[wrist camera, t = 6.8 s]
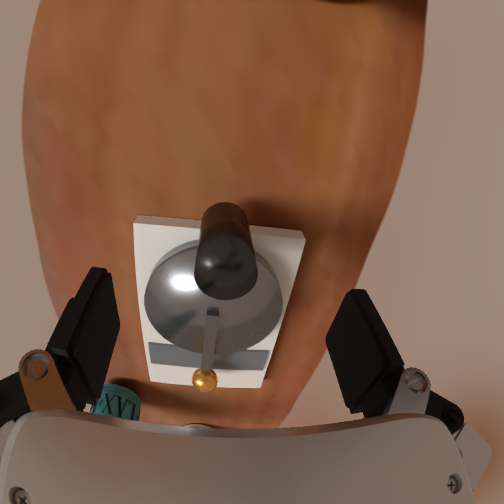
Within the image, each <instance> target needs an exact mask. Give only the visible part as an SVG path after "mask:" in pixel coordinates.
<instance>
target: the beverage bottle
mask: <svg viewBox="0 0 504 504" xmlns="http://www.w3.org/2000/svg"><path fill="white" fill-rule="evenodd" d="M140 408H141V406H140V398H139V397H138V395H137V394H136V393H134V392H133V391H131V390H130V389H128V388H125V387H123V386H120V385H116V384H104V386H103V390H102V394H101V397H100V399H97V398H96V402H95V405H92V407H91V409H92V410H90V412H91V413H94V414H99V415H104V416H109V417H115V418H121V419H127V420H133V421H139V419H140V418H139V415H140Z"/></svg>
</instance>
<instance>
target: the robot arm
mask: <svg viewBox="0 0 504 504" xmlns="http://www.w3.org/2000/svg"><path fill="white" fill-rule="evenodd" d="M119 329H120V320H119V315H118V310H117V305H116V299H115V294H114V288H113V282H112V276H111V273H108V272H107V270H106V269H105V268H98V267H92V268H91V269H90V271H89V272H88V274H87V276H86V278H85V279H84V281H83V283H82V285H81V287H80V289H79V290H78V292H77V294H76V296H75V298H71V299H70V300H69V302H68V304H67V306H66V308H65V309H64V311H63V313H62V315H61V317H60V319H59V321H58V323H57V325H56V328H55V330H54V332H53V334H52V336H51V338H50V340H49V342H48V345H47V347H46V349H45V351H44V350H41V349H36V350H31V351H29V352H27V353H26V354H25V355H24V356H23V357H22V358H21V360H20V363H19V367H18V368H19V371H18V372H16V373H15V374H12V375H10V376H8V377H6V378H4V379H2V380H0V504H475V500H474V496H473V493H472V492H473V491H474V489H475V487H476V485H477V484H478V482H479V480H480V478H481V476H482V475H483V473H484V471H485V469H486V467H487V465H488V463H489V461H490V458H491V455H492V451H491V447H490V445H489V444H488V443H487V441H486V440H485V439H484V438H483V437H482V436H481V435H480V434H479V433H478V432H477V431H476V430H475V429H474V428H473V427H472V426H471V425H470V424H469V423H468V422H466V423H465V424H464V416H463V413H462V411H461V409H460V408H459V407H458V406H457V405H455V404H454V403H452V402H450V401H448V400H447V399H445V398H443V397H441V396H440V395H438V394H436V393H434V392H433V391H431V390H430V387H431V384H430V380H429V378H428V377H427V375H426V374H425V373H424V372H423V371H421V370H420V369H417V368H412V367H410V368H407V369H404V367H403V366H404V362H403V360H402V358H401V356H400V354H399V352H398V350H397V348H396V346H395V344H394V342H393V340H392V338H391V336H390V334H389V332H388V330H387V328H386V326H385V325H384V323H383V321H382V319H381V317H380V315H379V313H378V312H377V310H376V308H375V306H374V304H373V302H372V301H371V299H370V297H369V295H368V293H367V292H366V290H364V289H351V290H350V292H347V293H346V295H345V297H344V299H343V301H342V303H341V306H340V308H339V310H338V312H337V314H336V316H335V318H334V321H333V323H332V325H331V327H330V329H329V331H328V333H327V335H326V345H327V348H328V351H329V354H330V357H331V360H332V363H333V367H334V370H335V373H336V376H337V379H338V383H339V385H340V389H341V392H342V396H343V399H344V402H345V405H346V407H348V408H349V409H350V412H351V414H354V413H360V412H363V415H364V417H363V419H359V420H353V421H346V422H339V423H332V424H324V425H314V426H304V427H291V428H274V429H212V428H194V427H181V426H171V425H162V424H154V423H147V422H140V421H133V420H127V419H121V418H115V417H109V416H104V415H99V414H94V413H88V412H84V411H83V409H84V408H85V406H86V403H87V404H91V405H95V402H96V398H97V399H100V397H101V394H102V390H103V386H104V382H105V378H106V374H107V371H108V367H109V363H110V360H111V356H112V353H113V349H114V346H115V343H116V339H117V336H118V333H119Z"/></svg>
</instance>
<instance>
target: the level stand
mask: <svg viewBox="0 0 504 504" xmlns="http://www.w3.org/2000/svg"><path fill="white" fill-rule="evenodd" d="M201 221H202V220H193V219H181V218H170V217H158V216H145V215H138V217H137V218H136V220H135V221H134V223H133V225H134V249H135V265H136V279H137V290H138V300H139V309H140V317H141V325H142V332H143V339H144V346H145V352H146V358H147V364H148V370H149V375H150V380H151V381H153V382H162V383H171V384H181V385H193V383H192V375H193V373H194V371H195V370H197V369H198V368H201V358H202V354H200V353H195V352H191V351H188V350H185V349H182V348H180V347H178V346H176V345H174V344H172V343H170V342H169V341H168V340H166V339H165V338H164V337H162V336H161V335H160V334H159V333H158V332H157V331H156V330H155V329H154V327H153V326H152V324H151V323H150V321H149V319H148V317H147V314H146V311H145V306H144V295H145V290H146V286H147V283H148V280H149V277H150V275H151V272H152V270H153V268H154V266H155V265H156V263H157V262H158V261H159V260H160V259H161V257H163V256H164V255H165V254H166V253H167V252H169V251H170V250H172V249H173V248H175V247H177V246H179V245H181V244H184V243H187V242H190V241H194V240H199V234H200V227H201ZM249 228H250V233H251V238H252V243H253V248H254V250H255V251H256V252H258V253H259V254H260V255H261V256H263V257H264V258H265V259H266V260H267V261H268V262H269V264H270V265H271V266H272V268H273V269H274V271H275V273H276V276H277V278H278V282H279V286H280V289H281V293H282V297H283V309H282V313H281V317H280V319H279V322H278V323H277V325H276V327H275V328H274V329H273V331H272V332H271V333H270V334H269V335H268V336H267V337H266V338H264V339H263V340H262V341H260V342H259V343H257V344H255V345H254V346H252V347H250V348H247V349H245V350H242V351H239V352H234V353H230V354H221V355H214V356H213V363H212V370H214V371H215V373H216V374H217V377H218V383H217V386H216V387H229V388H260V387H261V384H262V381H263V379H264V376H265V373H266V370H267V367H268V364H269V361H270V358H271V355H272V352H273V349H274V346H275V342H276V339H277V336H278V333H279V330H280V327H281V324H282V320H283V317H284V314H285V311H286V307H287V304H288V301H289V297H290V294H291V291H292V287H293V284H294V280H295V277H296V274H297V270H298V267H299V263H300V259H301V256H302V252H303V249H304V245H305V241H306V239H305V237H304V235H303V233H302V231H299V230H290V229H281V228H272V227H263V226H254V225H249Z"/></svg>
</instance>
